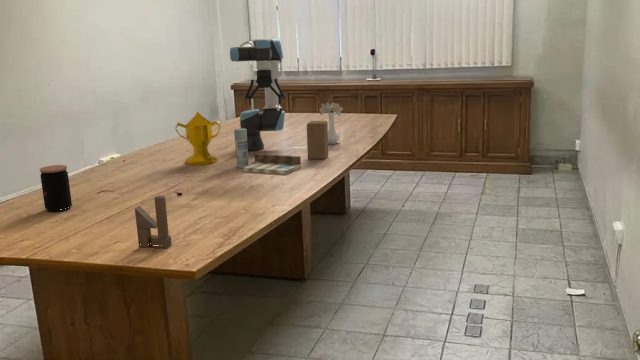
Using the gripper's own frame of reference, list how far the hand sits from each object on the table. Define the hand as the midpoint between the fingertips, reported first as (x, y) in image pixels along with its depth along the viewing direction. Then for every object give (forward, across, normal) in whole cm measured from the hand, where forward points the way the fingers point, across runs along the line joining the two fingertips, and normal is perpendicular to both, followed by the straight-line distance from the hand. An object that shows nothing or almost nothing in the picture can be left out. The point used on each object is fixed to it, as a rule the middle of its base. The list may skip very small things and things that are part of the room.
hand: (265, 111), depth 333 cm
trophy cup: (+26, -40, +16) cm, 50 cm away
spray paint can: (+29, -14, +3) cm, 32 cm away
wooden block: (+26, +25, +23) cm, 42 cm away
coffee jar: (+41, -77, -73) cm, 114 cm away
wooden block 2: (+50, -20, -117) cm, 129 cm away
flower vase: (+19, +29, +65) cm, 74 cm away
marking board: (+30, +3, -4) cm, 31 cm away
